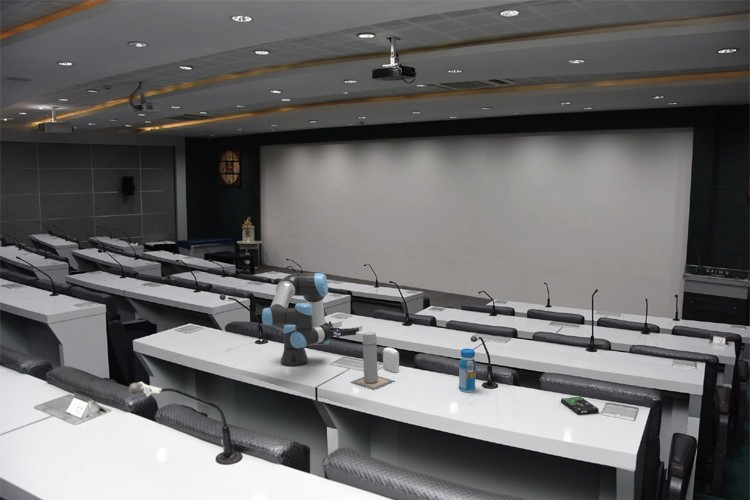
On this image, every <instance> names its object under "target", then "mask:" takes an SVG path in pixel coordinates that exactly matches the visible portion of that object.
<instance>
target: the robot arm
mask: <svg viewBox="0 0 750 500" xmlns="http://www.w3.org/2000/svg"><path fill="white" fill-rule="evenodd" d="M328 292H329V286H328V279H327V276H326V274H324V273H321V272H320V273H319V272H306V273H302V272H301V273H299V272H295V273H292V274H288V275H286V276H285V277H283V278H282V279H281V280H280V281H278V283H277V284H276V288H275V294H274V298H273V300H272V302H271V305H270V306H269V307H265V308H263V309H262V312H261V322H262V325H265V326H266V325H267V326H283V352H282V355H281V359H280V364H281V365H283V366H287V367H301V366H304V365H307V364H308V363H309V361H308V360H309V358H308V355H307V352H306V349H305V348H307V347H310V346H312V345H314V346H315V345H316V346H317V345H318V346H323V345H324V346H325V345H329V343H330V340H331V337H335V336H336V338H340V337H345V336H347V337H348V336H356V335H357V333H359V332H362V331H363V325H362V324H360V325H356V326H353V327H350V328H340V327H343V320H339V321H334V322H331V321H328V322H327V320H326V319H325V309H324V308H325V307H324V298H325V297H326V296H328ZM295 296H296V297H302V296H303V298H304V300H305V301H306V302H298V303H296V304H295V307H289V304H290V302H291V298H293V297H295Z"/></svg>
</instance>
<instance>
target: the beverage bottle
mask: <svg viewBox="0 0 750 500" xmlns="http://www.w3.org/2000/svg"><path fill="white" fill-rule="evenodd" d="M475 354H476V351H475V349H473V348H462V349H461V350H460V357H461V359H460V360H459V363H458V364H459V366H458V372H459V374H458V389H459V391H460V392H464V393H472V392H473V393H474V392H475V390H476V372H477V367H476V366H477V363H476V360H475V356H476V355H475Z"/></svg>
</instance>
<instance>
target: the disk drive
mask: <svg viewBox="0 0 750 500" xmlns="http://www.w3.org/2000/svg"><path fill="white" fill-rule="evenodd" d="M560 403H561V404H562V405H563V406H565V407H566V408H567V409H569V410H570V411H572V412H573V413H574V414H576V415H577V416H583V415H585V416H586V415H597V414H599V408H598V407H597V406H595V405H594V404H592V403H591V402H589V401H588V400H586V399H585V398H583V397H582V396H574V397H573V396H571V397H565V398H564V397H562V398H561V399H560Z"/></svg>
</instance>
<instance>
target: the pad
mask: <svg viewBox="0 0 750 500" xmlns="http://www.w3.org/2000/svg"><path fill="white" fill-rule="evenodd" d="M392 382H393V383H395V380H392V379H389V378H387V377H386V378H385V377H383V376H379V375H378V381H377V382H375V383H367V382H365V381H364V376H363V377H360V378H358V379H354V380H352V381H350V383H351V384H353V383H354V384H353V385H356V384H357V386H360V385H361V386H360V387H363V386H364V387H363V388H366V387H367V388H366V389H369V388H370V389H369V390H372V389H373V391H375V389H376V390H378V389H381V388H383V387H385V386H387V384H388V385H390V384H392ZM380 387H381V388H380Z"/></svg>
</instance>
